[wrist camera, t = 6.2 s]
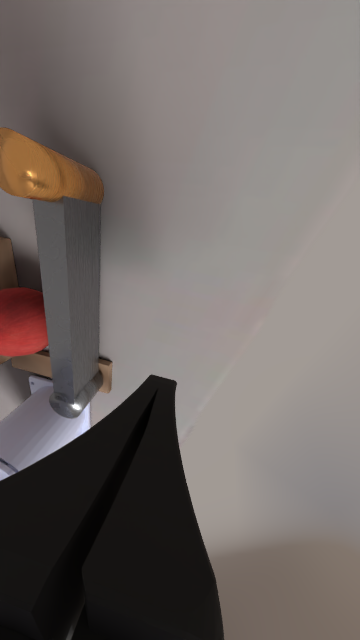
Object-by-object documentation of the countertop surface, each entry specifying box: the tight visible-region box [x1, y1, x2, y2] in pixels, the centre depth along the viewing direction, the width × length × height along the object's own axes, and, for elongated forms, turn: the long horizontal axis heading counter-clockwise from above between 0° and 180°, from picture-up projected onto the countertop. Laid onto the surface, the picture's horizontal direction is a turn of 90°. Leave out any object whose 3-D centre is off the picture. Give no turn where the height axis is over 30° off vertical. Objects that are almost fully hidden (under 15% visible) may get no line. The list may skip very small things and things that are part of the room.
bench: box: [0, 237, 112, 393], centre depth 19 cm, size 15×13×6 cm
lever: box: [0, 128, 104, 419], centre depth 16 cm, size 21×3×6 cm, turn 170°
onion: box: [0, 287, 49, 357], centre depth 17 cm, size 6×6×8 cm
